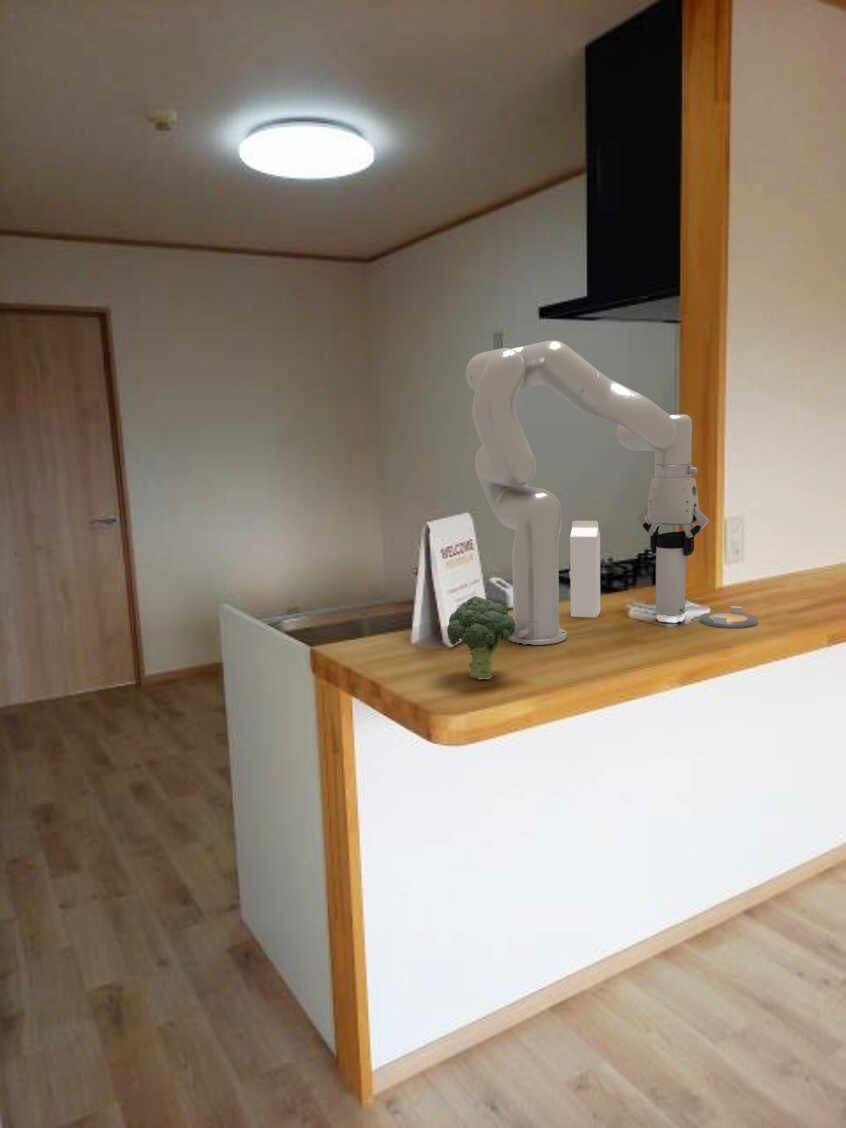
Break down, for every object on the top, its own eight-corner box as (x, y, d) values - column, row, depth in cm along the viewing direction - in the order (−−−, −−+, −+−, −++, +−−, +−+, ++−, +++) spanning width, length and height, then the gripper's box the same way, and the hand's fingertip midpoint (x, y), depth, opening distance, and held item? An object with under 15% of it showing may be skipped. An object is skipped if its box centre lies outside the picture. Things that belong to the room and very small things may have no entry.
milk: (596, 618, 192) (596, 522, 188) (570, 617, 194) (569, 522, 190) (600, 612, 198) (600, 519, 194) (574, 610, 200) (574, 518, 196)
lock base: (747, 630, 176) (747, 620, 176) (691, 624, 184) (691, 614, 183) (764, 619, 185) (765, 609, 185) (710, 612, 193) (710, 603, 192)
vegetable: (513, 667, 157) (512, 588, 154) (518, 689, 144) (517, 604, 142) (448, 669, 157) (446, 590, 155) (448, 690, 145) (445, 606, 142)
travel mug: (689, 623, 184) (691, 533, 181) (659, 624, 184) (660, 534, 181) (681, 616, 190) (683, 529, 187) (652, 617, 191) (653, 530, 187)
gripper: (718, 471, 179) (717, 554, 182) (642, 470, 190) (641, 548, 193) (706, 474, 174) (704, 559, 177) (627, 473, 184) (627, 553, 187)
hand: (671, 553), depth 185 cm, fingers open, 6 cm apart
